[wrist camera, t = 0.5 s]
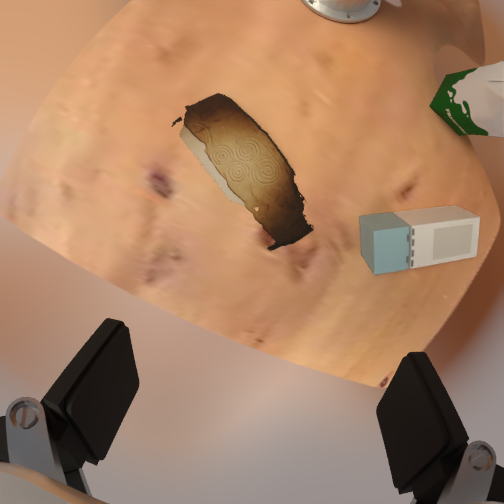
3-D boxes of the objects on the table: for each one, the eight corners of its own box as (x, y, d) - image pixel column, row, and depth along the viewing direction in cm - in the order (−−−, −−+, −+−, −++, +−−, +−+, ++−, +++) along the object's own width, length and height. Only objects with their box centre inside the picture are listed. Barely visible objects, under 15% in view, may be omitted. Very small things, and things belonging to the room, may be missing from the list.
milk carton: (479, 104, 30) (567, 105, 12) (459, 144, 33) (551, 162, 15) (443, 67, 29) (529, 43, 11) (421, 107, 32) (512, 98, 14)
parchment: (168, 122, 37) (166, 122, 36) (223, 78, 34) (221, 77, 33) (271, 254, 44) (271, 257, 43) (327, 219, 41) (328, 221, 40)
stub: (359, 216, 40) (373, 231, 33) (390, 212, 39) (409, 226, 32) (361, 254, 42) (374, 275, 35) (390, 249, 41) (408, 269, 34)
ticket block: (392, 211, 39) (412, 226, 32) (455, 204, 37) (480, 217, 30) (393, 249, 41) (410, 269, 34) (454, 240, 39) (476, 256, 33)
